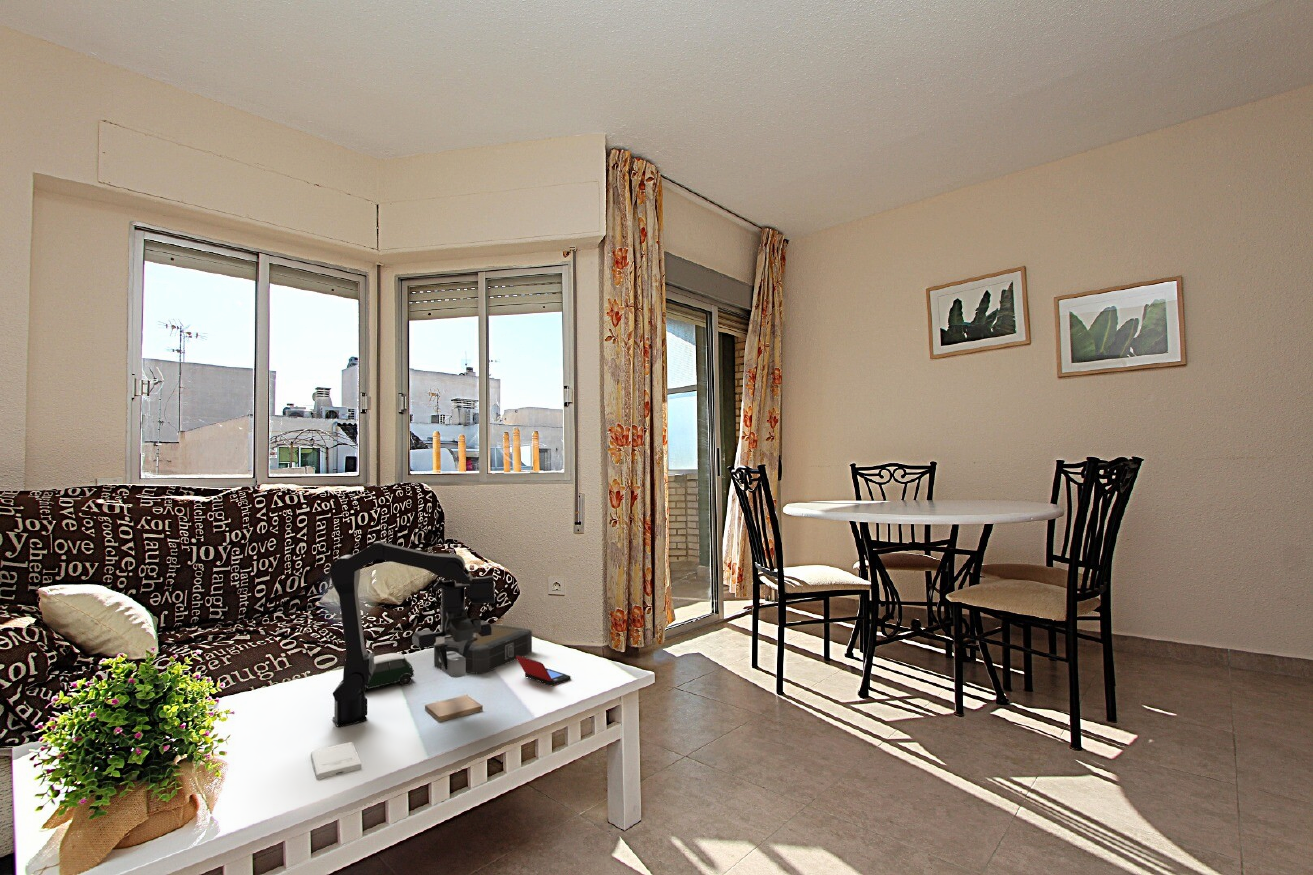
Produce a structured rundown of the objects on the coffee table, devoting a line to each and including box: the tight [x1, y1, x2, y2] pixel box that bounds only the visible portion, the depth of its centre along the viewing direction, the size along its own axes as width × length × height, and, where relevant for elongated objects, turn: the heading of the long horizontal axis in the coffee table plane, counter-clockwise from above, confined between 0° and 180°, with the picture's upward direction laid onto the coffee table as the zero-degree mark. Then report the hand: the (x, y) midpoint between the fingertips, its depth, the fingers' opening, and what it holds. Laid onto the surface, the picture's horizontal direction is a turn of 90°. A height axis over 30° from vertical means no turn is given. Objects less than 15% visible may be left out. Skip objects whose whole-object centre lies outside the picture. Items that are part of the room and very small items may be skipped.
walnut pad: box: [424, 694, 484, 723], centre depth 165 cm, size 11×10×1 cm
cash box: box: [433, 623, 533, 675], centre depth 208 cm, size 25×20×8 cm
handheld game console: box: [516, 655, 571, 686], centre depth 187 cm, size 12×11×7 cm
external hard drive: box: [310, 741, 362, 780], centre depth 137 cm, size 2×8×12 cm
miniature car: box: [362, 652, 415, 693], centre depth 184 cm, size 9×18×8 cm, turn 129°
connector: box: [439, 651, 467, 679], centre depth 166 cm, size 4×12×4 cm, turn 38°
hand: (453, 667), depth 165 cm, fingers closed on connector, 4 cm apart
